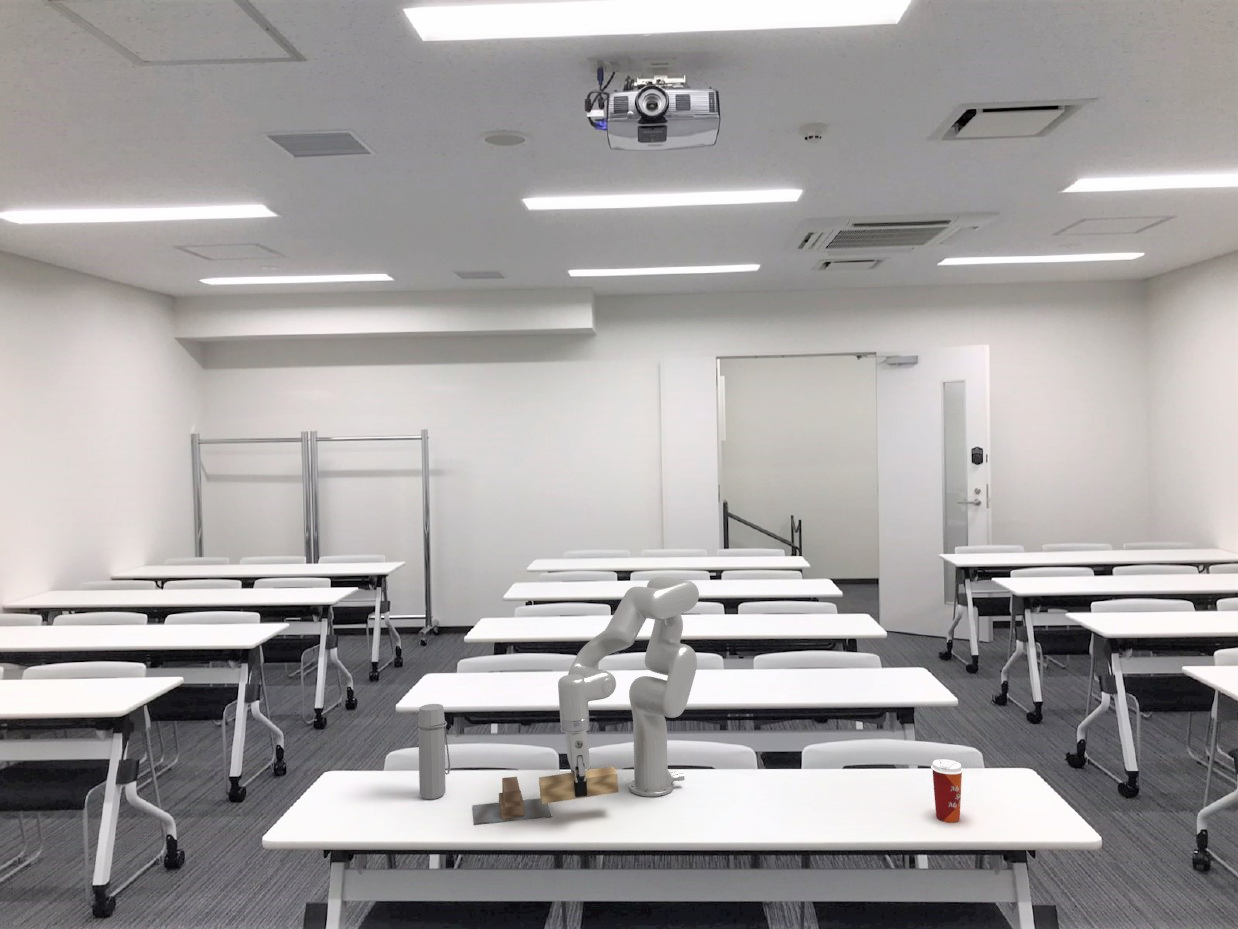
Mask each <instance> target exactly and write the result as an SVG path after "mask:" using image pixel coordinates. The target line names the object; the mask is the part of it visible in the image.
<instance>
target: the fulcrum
mask: <svg viewBox="0 0 1238 929" xmlns="http://www.w3.org/2000/svg"><path fill="white" fill-rule="evenodd" d="M501 782H502V784H501V788H502V791H501V792H498V802H489V803H482V804H481V803H480V804H479V803H478V804H472V813H473V814H472V815H473V822H474V826H476V825H477V826H478V825H479V826H480V825H485V824H494V823H495V824H496V823H498V824H499V823H506V822H516V821H525V820H535V819H543V818H552V812H551V808H550V806H549V803H547V804H542V801H541V797H540V798H531V799H524V798H523V794H522V791H521V789H520V785H519V784H520V783H519V779H518V776H509V777H502V780H501Z"/></svg>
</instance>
